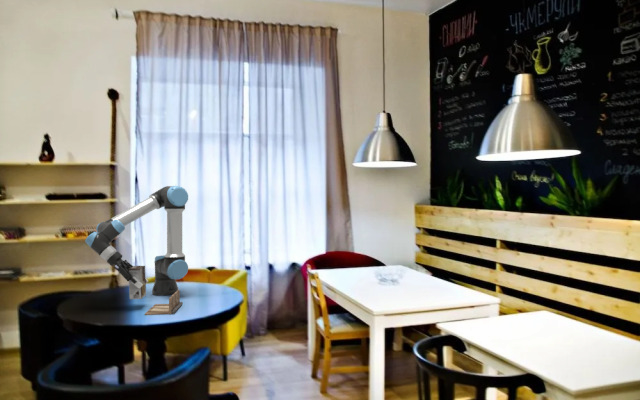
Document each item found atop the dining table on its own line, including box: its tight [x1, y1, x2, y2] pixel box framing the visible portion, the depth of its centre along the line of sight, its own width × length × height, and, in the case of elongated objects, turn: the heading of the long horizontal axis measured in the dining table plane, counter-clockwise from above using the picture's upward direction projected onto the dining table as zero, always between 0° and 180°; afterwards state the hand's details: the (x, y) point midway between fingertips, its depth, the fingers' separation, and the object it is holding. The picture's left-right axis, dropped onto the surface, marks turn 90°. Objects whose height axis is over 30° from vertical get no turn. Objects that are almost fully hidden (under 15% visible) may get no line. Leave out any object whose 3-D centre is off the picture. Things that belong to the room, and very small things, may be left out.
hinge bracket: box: [144, 289, 183, 316], centre depth 244 cm, size 20×15×8 cm
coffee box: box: [128, 265, 147, 300], centre depth 249 cm, size 9×6×16 cm
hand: (143, 284), depth 249 cm, fingers closed on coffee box, 9 cm apart
